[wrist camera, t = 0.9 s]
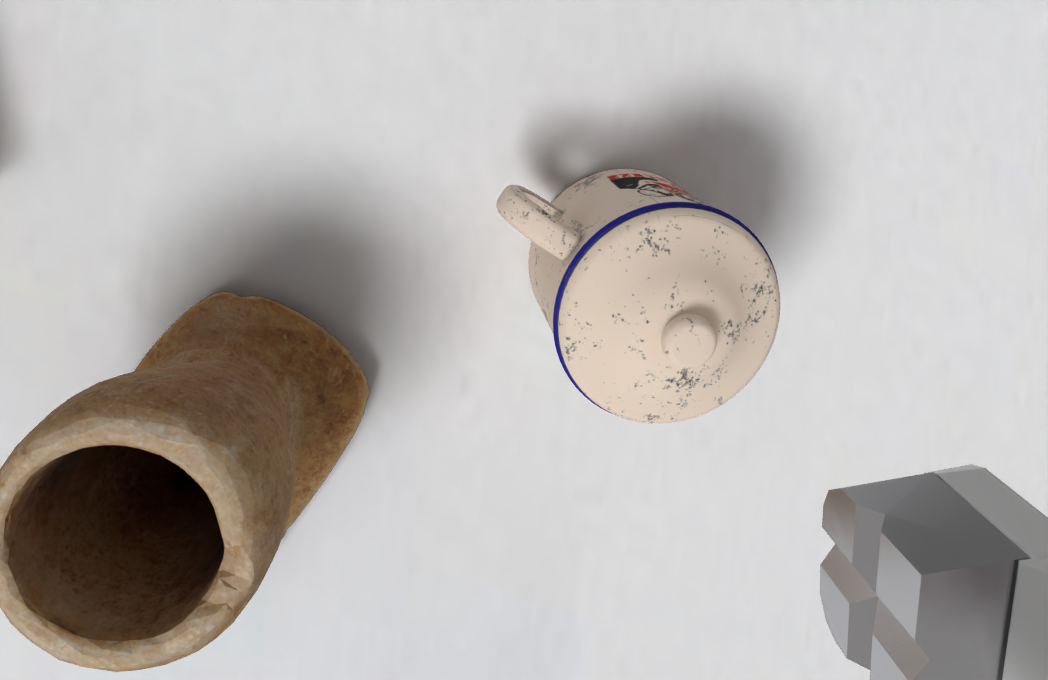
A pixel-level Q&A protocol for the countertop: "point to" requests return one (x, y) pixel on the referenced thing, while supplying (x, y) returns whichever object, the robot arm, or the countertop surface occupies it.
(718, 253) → the teacup with lid
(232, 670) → the countertop surface
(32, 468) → the stone cup
